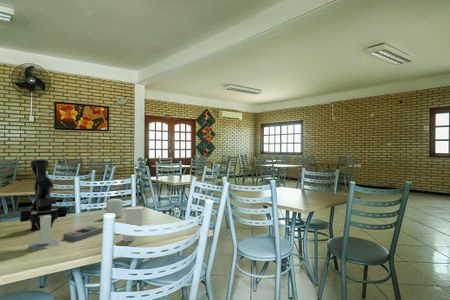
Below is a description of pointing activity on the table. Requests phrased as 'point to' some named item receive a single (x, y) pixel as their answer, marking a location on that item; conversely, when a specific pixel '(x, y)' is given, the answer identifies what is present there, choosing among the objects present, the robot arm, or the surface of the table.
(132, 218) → the base with upright slab
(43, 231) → the block
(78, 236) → the power strip
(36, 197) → the robot arm
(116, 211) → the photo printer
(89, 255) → the table surface
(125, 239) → the shot glass
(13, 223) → the table surface
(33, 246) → the mat
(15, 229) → the table surface
